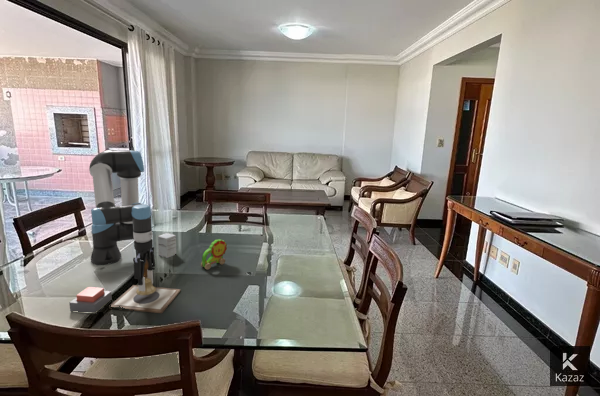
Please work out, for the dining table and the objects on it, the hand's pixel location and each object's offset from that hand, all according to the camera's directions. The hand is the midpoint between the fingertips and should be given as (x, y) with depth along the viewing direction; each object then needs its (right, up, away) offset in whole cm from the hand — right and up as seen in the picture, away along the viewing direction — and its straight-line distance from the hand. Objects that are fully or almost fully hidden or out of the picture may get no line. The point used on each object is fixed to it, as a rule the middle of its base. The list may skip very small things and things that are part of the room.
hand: (146, 286), depth 148 cm
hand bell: (0, -2, 0) cm, 2 cm away
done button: (-21, -3, -7) cm, 22 cm away
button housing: (-21, -7, -6) cm, 23 cm away
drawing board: (0, -6, +2) cm, 6 cm away
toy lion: (+21, +2, +39) cm, 45 cm away
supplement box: (-10, +6, +49) cm, 50 cm away
